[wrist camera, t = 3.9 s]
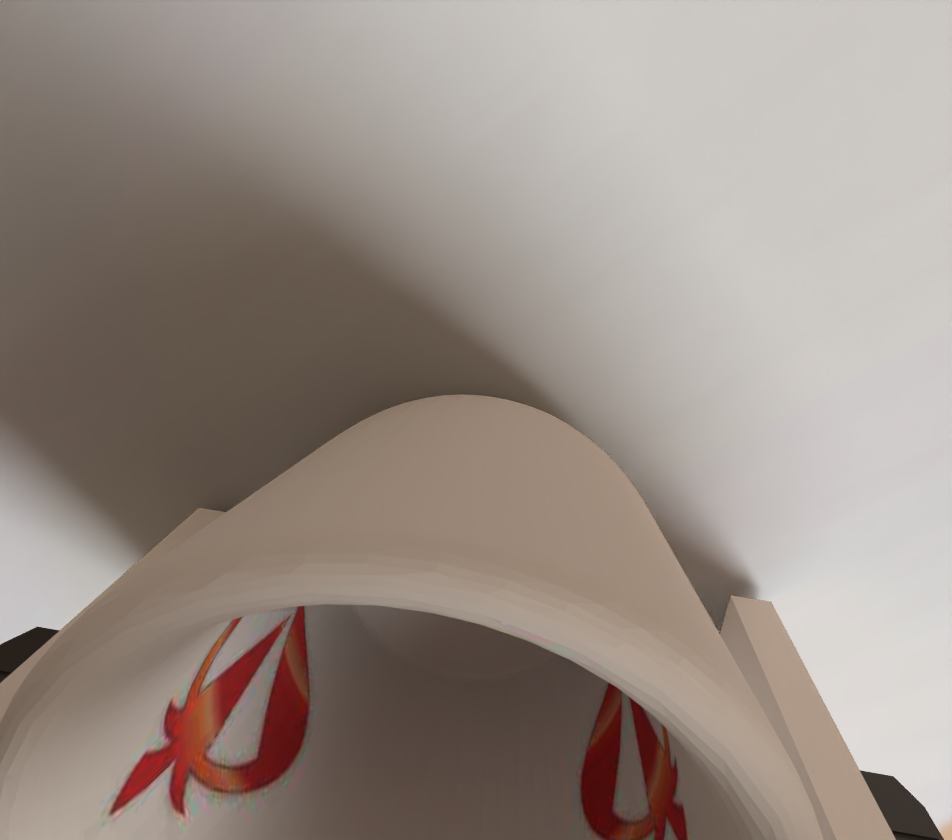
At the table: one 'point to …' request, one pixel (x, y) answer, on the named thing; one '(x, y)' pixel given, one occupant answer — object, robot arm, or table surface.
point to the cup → (406, 663)
